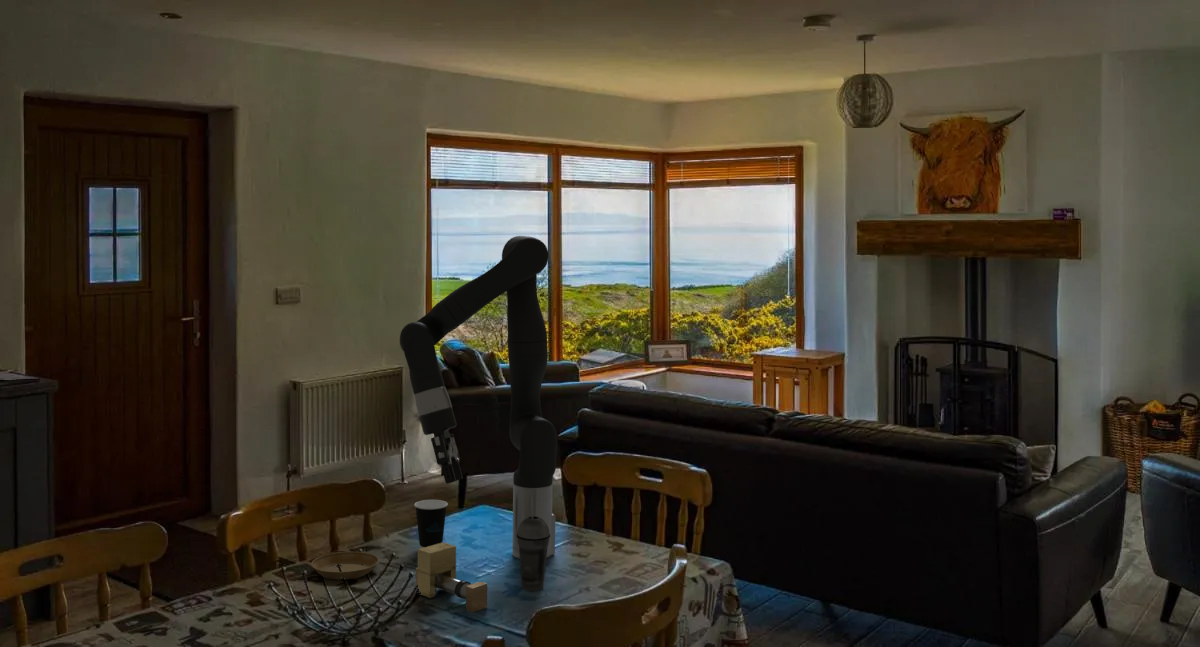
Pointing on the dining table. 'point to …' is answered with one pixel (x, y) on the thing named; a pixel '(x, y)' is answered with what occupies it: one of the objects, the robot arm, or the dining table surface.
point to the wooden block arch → (435, 566)
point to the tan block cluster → (462, 591)
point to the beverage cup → (533, 551)
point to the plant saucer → (345, 564)
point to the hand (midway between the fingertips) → (454, 481)
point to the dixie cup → (430, 521)
